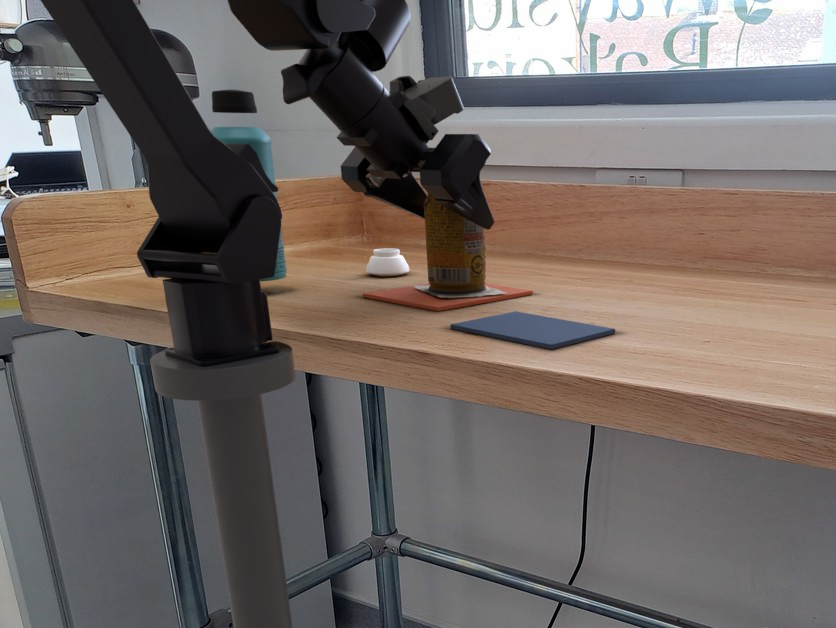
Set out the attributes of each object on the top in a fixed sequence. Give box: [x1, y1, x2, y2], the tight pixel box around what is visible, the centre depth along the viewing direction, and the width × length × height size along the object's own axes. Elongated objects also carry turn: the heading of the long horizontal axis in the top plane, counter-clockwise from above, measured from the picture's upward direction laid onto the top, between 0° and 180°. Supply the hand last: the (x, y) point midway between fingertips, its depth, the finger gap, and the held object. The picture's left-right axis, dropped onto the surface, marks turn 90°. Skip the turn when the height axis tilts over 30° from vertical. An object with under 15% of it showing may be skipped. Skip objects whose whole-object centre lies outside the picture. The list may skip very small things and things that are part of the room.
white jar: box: [365, 247, 410, 277], centre depth 103 cm, size 5×3×5 cm
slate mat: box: [450, 311, 616, 350], centre depth 73 cm, size 8×12×1 cm, turn 50°
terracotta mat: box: [362, 282, 534, 312], centre depth 90 cm, size 13×12×1 cm
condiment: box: [412, 191, 506, 298], centre depth 88 cm, size 7×8×12 cm
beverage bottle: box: [210, 89, 287, 283], centre depth 88 cm, size 6×7×20 cm
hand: (463, 223), depth 89 cm, fingers open, 9 cm apart
